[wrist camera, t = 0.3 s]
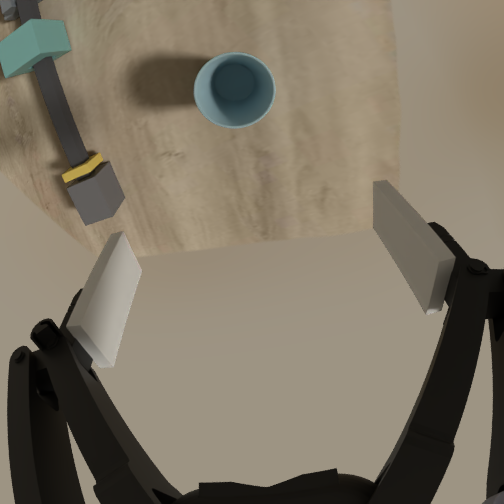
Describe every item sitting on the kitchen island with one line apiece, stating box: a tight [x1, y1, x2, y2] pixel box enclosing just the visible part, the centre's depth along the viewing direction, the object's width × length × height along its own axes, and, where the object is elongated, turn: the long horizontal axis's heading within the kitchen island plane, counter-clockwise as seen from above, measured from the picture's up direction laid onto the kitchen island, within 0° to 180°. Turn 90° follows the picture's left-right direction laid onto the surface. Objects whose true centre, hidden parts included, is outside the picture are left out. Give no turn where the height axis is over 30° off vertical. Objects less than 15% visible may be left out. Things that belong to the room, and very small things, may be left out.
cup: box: [194, 52, 276, 128], centre depth 31 cm, size 8×8×10 cm
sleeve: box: [0, 19, 71, 78], centre depth 25 cm, size 5×6×8 cm
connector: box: [67, 161, 125, 226], centre depth 40 cm, size 6×5×6 cm
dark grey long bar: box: [16, 0, 103, 183], centre depth 31 cm, size 34×4×4 cm, turn 14°
